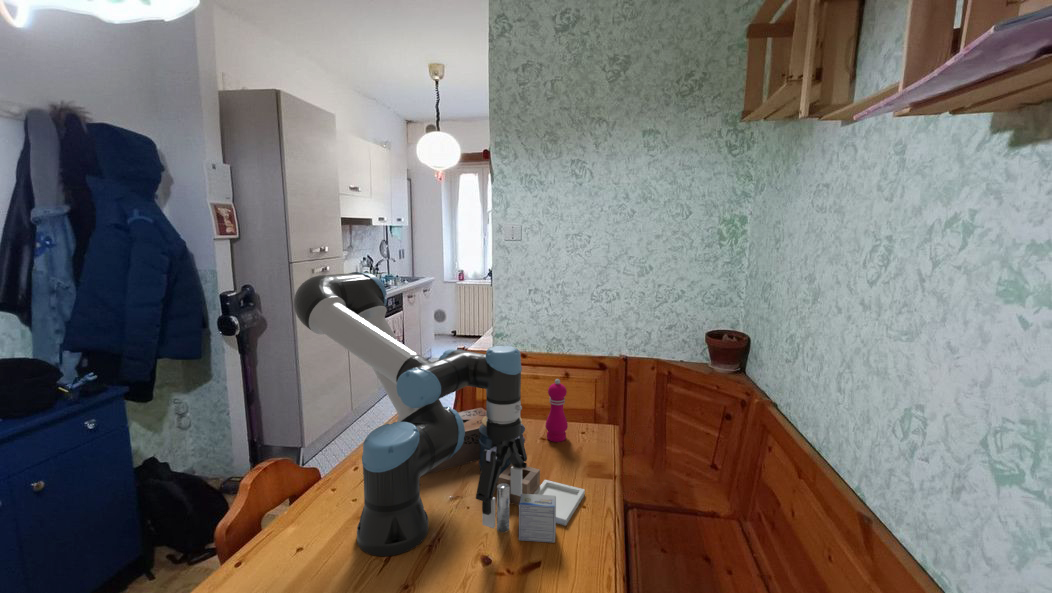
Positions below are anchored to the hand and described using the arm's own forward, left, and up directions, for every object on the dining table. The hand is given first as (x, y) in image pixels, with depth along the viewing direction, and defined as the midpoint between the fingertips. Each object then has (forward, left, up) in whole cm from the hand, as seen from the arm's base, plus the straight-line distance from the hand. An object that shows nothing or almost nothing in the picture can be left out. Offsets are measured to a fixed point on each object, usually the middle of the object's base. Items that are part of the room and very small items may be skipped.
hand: (503, 509), depth 102 cm
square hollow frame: (-3, +14, -5) cm, 15 cm away
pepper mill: (-6, +49, -5) cm, 50 cm away
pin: (0, 0, -5) cm, 5 cm away
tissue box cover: (-30, +25, -5) cm, 39 cm away
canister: (-13, +24, -5) cm, 28 cm away
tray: (+7, +14, -5) cm, 16 cm away
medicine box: (+8, +1, -5) cm, 9 cm away
